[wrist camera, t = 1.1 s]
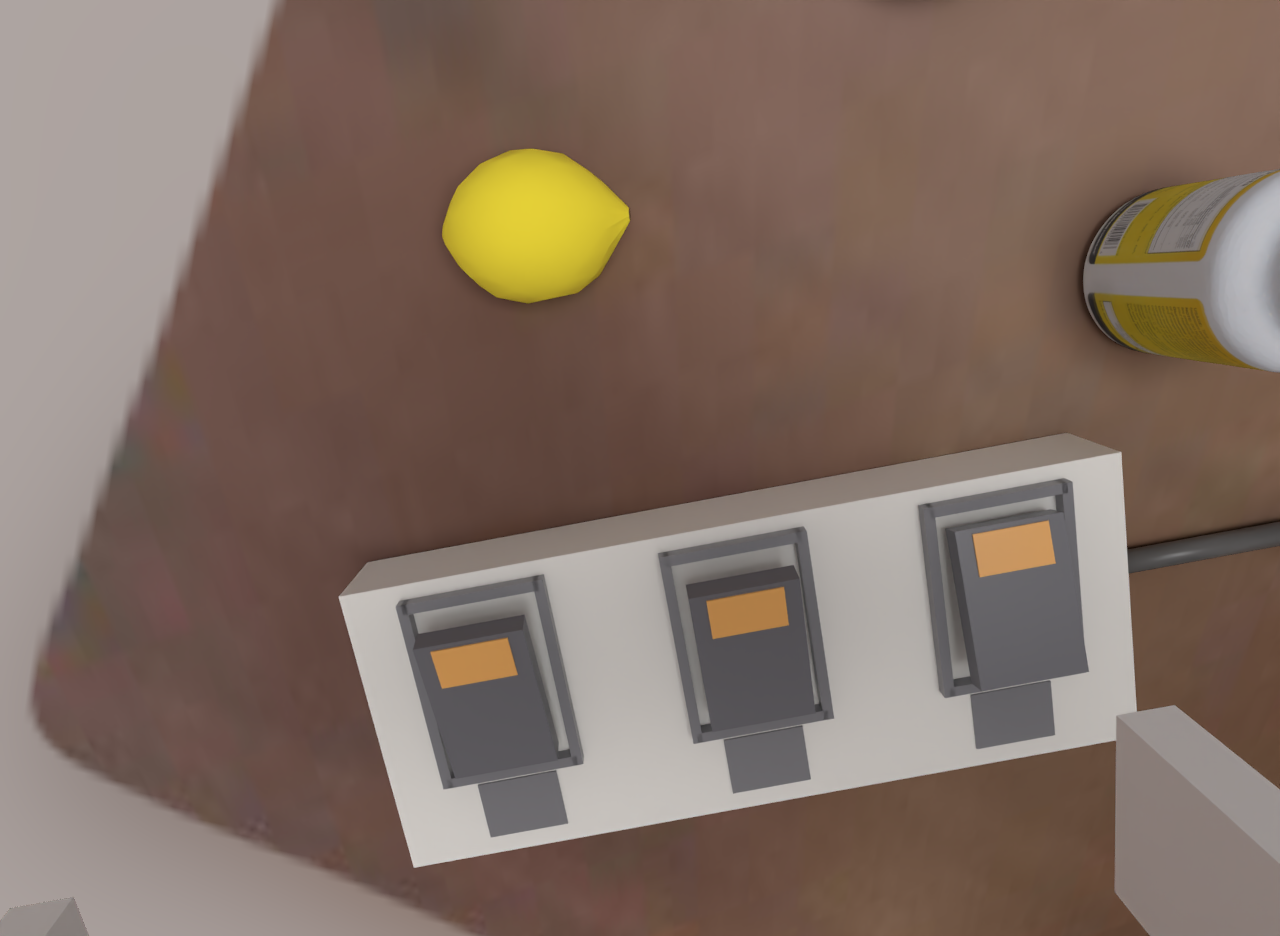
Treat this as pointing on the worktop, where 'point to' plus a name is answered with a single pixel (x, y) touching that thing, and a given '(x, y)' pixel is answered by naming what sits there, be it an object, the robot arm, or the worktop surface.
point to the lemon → (533, 225)
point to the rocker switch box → (836, 636)
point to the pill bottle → (1193, 272)
